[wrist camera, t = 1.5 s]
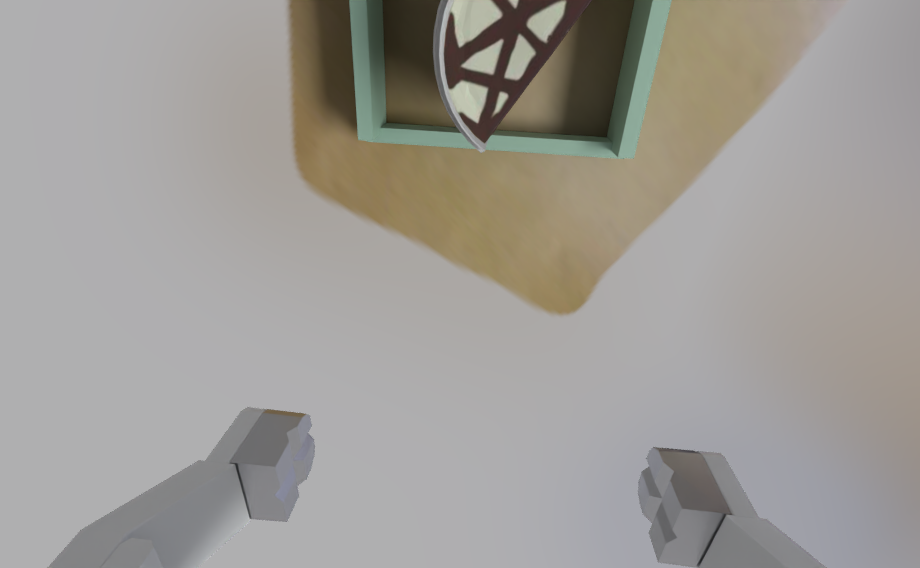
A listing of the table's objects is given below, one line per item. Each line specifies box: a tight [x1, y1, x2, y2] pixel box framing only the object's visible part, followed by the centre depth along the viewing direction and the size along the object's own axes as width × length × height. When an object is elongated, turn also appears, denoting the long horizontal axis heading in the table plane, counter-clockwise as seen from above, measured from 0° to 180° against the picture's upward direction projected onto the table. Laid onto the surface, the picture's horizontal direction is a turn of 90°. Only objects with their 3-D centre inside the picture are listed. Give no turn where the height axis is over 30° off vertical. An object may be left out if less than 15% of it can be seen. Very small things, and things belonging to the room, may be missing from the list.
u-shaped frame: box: [349, 0, 672, 159], centre depth 27 cm, size 16×18×4 cm
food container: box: [433, 0, 592, 153], centre depth 24 cm, size 12×6×10 cm, turn 144°
